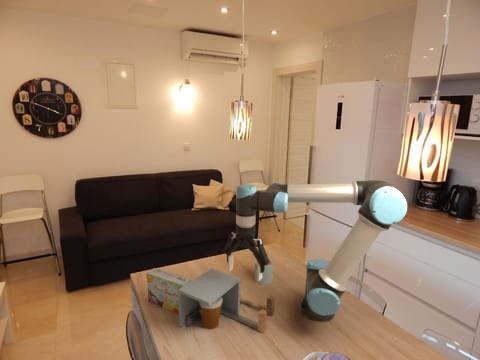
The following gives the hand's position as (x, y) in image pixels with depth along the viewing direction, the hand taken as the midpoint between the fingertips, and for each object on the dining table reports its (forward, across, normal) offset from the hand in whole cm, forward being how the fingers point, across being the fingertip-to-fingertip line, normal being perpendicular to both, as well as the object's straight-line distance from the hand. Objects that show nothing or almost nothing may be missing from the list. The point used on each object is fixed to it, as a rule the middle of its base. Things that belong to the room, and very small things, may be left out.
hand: (244, 274), depth 125 cm
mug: (+21, +8, -35) cm, 42 cm away
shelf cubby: (+21, +12, +8) cm, 25 cm away
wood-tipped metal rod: (+21, +4, +8) cm, 22 cm away
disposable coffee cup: (+21, +10, +9) cm, 25 cm away
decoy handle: (+21, +2, -10) cm, 23 cm away
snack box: (+21, +32, +10) cm, 40 cm away
